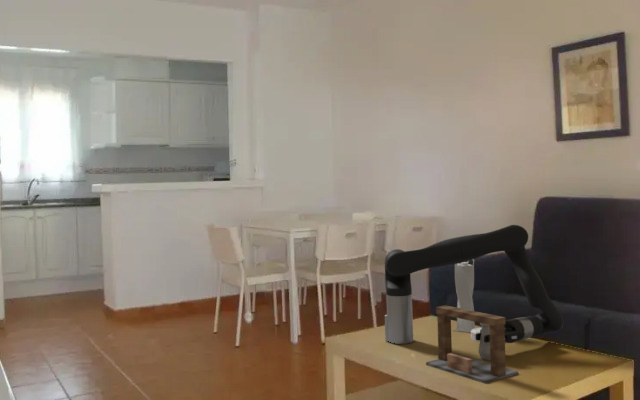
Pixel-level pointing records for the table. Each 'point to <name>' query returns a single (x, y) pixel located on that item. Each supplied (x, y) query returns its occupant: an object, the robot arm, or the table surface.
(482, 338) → the salt shaker
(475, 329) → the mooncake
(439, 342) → the gateway
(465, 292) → the skyscraper
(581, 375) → the table surface
